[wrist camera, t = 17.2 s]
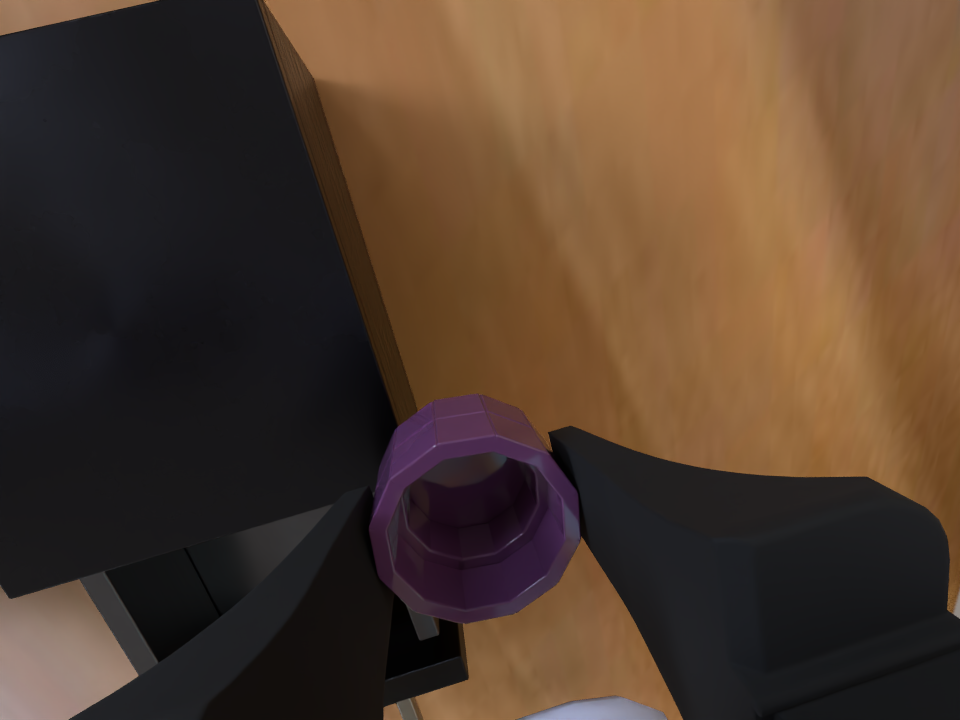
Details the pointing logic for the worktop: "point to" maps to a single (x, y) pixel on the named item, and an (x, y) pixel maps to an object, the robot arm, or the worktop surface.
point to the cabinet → (176, 292)
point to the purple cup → (471, 511)
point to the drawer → (229, 578)
